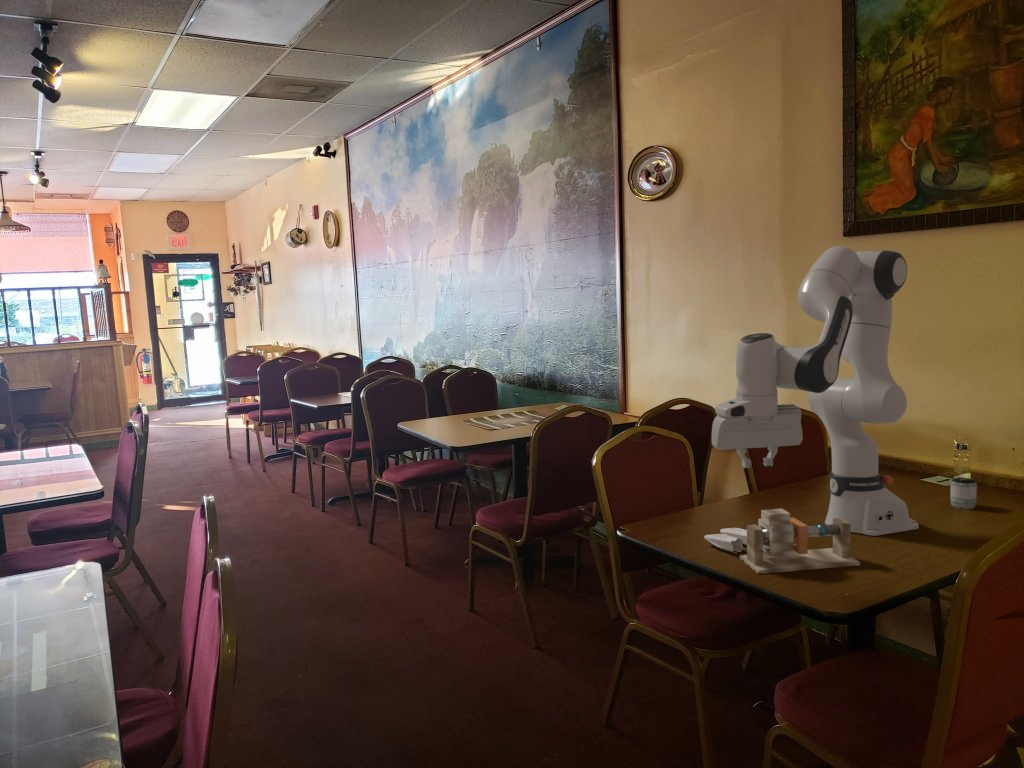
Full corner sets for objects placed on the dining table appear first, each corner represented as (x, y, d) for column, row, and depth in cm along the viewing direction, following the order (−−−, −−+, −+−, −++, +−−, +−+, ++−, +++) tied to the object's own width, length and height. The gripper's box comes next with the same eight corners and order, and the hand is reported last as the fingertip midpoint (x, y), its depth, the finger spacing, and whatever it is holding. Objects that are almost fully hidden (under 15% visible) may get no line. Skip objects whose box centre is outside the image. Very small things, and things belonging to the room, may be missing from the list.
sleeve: (778, 546, 170) (778, 506, 169) (793, 556, 163) (793, 515, 162) (758, 547, 170) (758, 508, 169) (772, 557, 163) (772, 516, 162)
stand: (835, 550, 173) (835, 514, 172) (860, 565, 163) (860, 526, 163) (739, 558, 171) (739, 521, 170) (758, 573, 161) (758, 534, 160)
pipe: (834, 533, 169) (834, 522, 169) (840, 536, 166) (840, 525, 166) (756, 539, 167) (756, 528, 167) (761, 542, 164) (761, 531, 164)
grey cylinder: (981, 509, 201) (981, 481, 200) (958, 509, 201) (959, 482, 200) (967, 503, 207) (968, 476, 207) (945, 503, 208) (945, 477, 207)
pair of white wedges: (766, 547, 179) (733, 536, 188) (766, 531, 178) (733, 520, 188) (731, 557, 173) (698, 545, 183) (730, 540, 172) (698, 529, 182)
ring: (793, 544, 170) (793, 517, 169) (807, 553, 164) (807, 525, 163) (785, 545, 170) (785, 518, 169) (799, 554, 164) (799, 526, 163)
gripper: (794, 401, 166) (794, 460, 168) (708, 406, 164) (709, 466, 166) (808, 405, 160) (808, 466, 162) (719, 410, 158) (719, 472, 160)
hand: (757, 466), depth 164 cm, fingers open, 4 cm apart
